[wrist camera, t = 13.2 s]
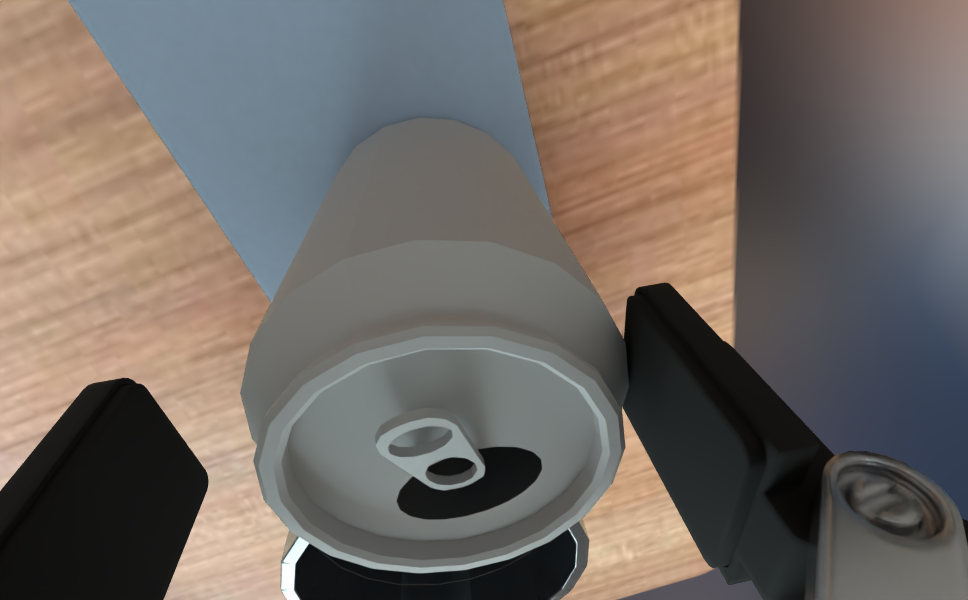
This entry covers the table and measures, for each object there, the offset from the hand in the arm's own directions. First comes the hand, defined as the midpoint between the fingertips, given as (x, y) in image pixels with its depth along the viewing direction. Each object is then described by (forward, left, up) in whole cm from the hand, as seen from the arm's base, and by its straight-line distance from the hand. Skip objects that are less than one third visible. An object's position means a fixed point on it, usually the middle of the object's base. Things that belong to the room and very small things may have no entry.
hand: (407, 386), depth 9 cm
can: (+1, 0, -10) cm, 10 cm away
